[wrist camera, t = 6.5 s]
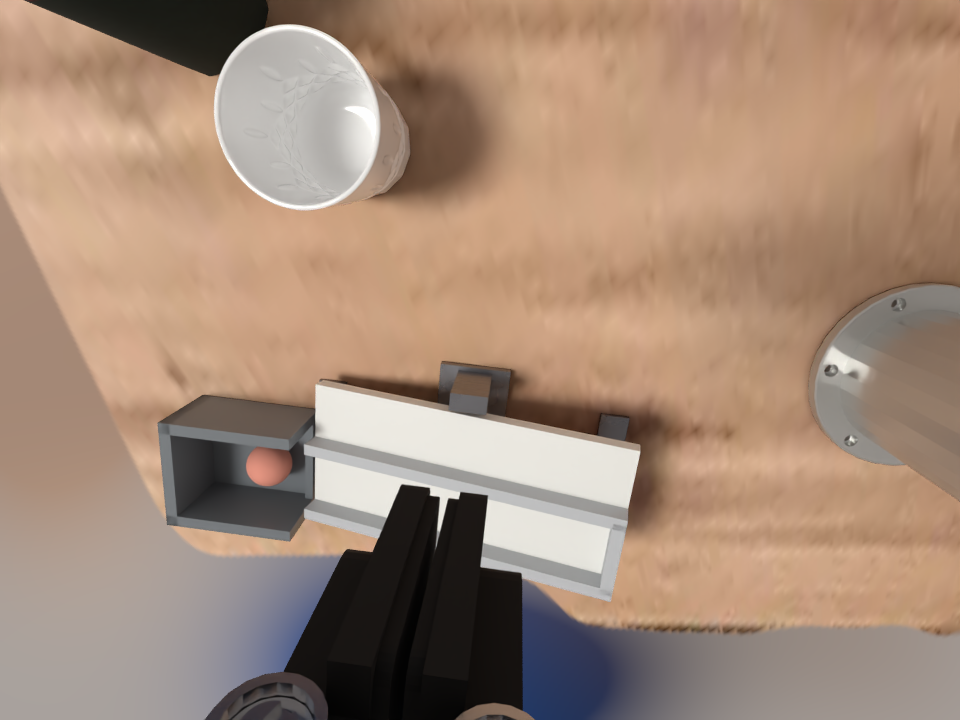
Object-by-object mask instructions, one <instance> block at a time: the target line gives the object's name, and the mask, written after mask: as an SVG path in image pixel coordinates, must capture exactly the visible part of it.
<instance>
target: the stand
mask: <svg viewBox="0 0 960 720" xmlns="http://www.w3.org/2000/svg"><path fill="white" fill-rule="evenodd" d="M510 374H511V370H510V369H501V368H493V367H485V366H477V365H468V364H460V363H452V362H444V361H442V362H441V368H440V380H439V392H438V403H439V404H444V405H449V411H457V412H465V413H473V414H481V415H486V413H488V414H493V415H498V416H503V417H505V414H506V406H507V398H508V390H509V382H510ZM323 380H326V379H320V381H319V382H321V381H323ZM326 381H331V382H336V383H341V384H346V385H347V382H342V381H334V380H326ZM629 419H630V418H629V417H626V416H618V415H610V414H602V413H601V417H600V422H599V427H598V433H597V436H600V437H605V438H610V439H615V440H620V441H625V438H626V433H627V428H628V424H629Z"/></svg>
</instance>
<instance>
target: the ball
mask: <svg viewBox="0 0 960 720" xmlns="http://www.w3.org/2000/svg"><path fill="white" fill-rule="evenodd" d="M291 469H292V457H291V454H290V452H289V451H288V450H281V449H273V448H266V447H258V446H257V447H256V448H255V449H254V450H253V451H252V452H251V453H250V454H249V456H248V459H247V462H246V470H247V473H248V475H249V477H250V478H251V480H252V481H254V482H255V483H256V484H259V485H262V486H273V485H277V484H279V483H281V482H282V481H284V480H285V479H286V478H287V476H288V475H289V473H290V471H291Z"/></svg>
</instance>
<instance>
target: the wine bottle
mask: <svg viewBox="0 0 960 720" xmlns="http://www.w3.org/2000/svg"><path fill="white" fill-rule="evenodd" d="M25 1H27V2H30V3H32V4H34V5H37V6H39V7H42V8H44V9H46V10H49V11H51V12H54V13H56V14H59V15H61V16H63V17H66V18H68V19H71V20H73V21H76V22H78V23H80V24H83V25H85V26H88V27H90V28H92V29H95V30H97V31H100V32H102V33H105V34H107V35H109V36H112V37H114V38H117V39H119V40H122V41H124V42H126V43H129V44H131V45H134V46H136V47H139V48H141V49H143V50H146V51H148V52H151V53H153V54H155V55H158V56H160V57H163V58H165V59H168V60H170V61H172V62H175V63H177V64H180V65H182V66H185V67H187V68H190V69H193V70H195V71H198V72H200V73H203V74H205V75H208V76H213V75H217V74H220V73H221V71H222V68H223V66H224V64H225V63H226V61H227V59H228V58H229V56H230V55H231V53H232V52H233V51H234V50H235V49H236V47H237V46H238V45H239V44H240V43H242V42H243V41H244V40H245V39H246V38H248V37H249V36H251V35H252V34H254V33H256V32H258V31H260V30H262V29H264V28H265V23H266V18H267V13H268V7H267V3H266V0H25Z"/></svg>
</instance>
